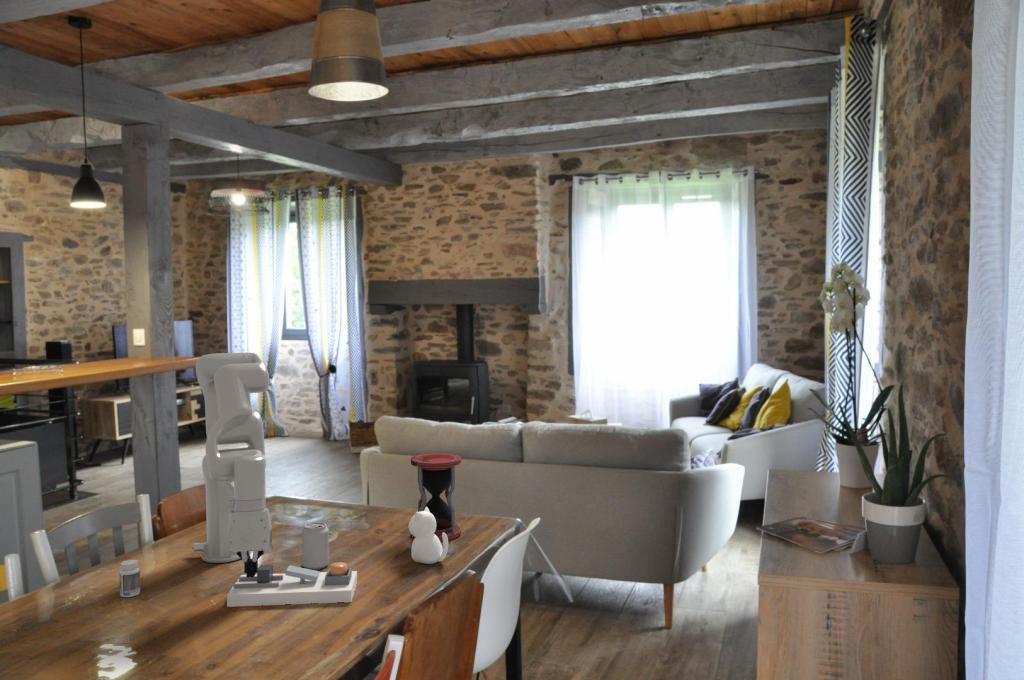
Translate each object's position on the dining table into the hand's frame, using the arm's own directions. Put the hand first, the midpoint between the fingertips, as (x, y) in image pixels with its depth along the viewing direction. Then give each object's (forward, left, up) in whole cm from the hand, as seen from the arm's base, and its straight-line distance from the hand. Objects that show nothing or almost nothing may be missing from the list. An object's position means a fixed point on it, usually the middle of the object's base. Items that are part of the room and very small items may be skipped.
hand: (251, 575), depth 196 cm
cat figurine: (+45, +22, -5) cm, 50 cm away
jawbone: (+9, +46, -6) cm, 47 cm away
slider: (+3, 0, -2) cm, 4 cm away
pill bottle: (-31, +4, -5) cm, 32 cm away
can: (+13, +21, -5) cm, 25 cm away
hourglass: (+47, +48, -5) cm, 67 cm away
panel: (+11, 0, -5) cm, 12 cm away
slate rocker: (+13, 0, 0) cm, 13 cm away
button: (+22, 0, 0) cm, 22 cm away
